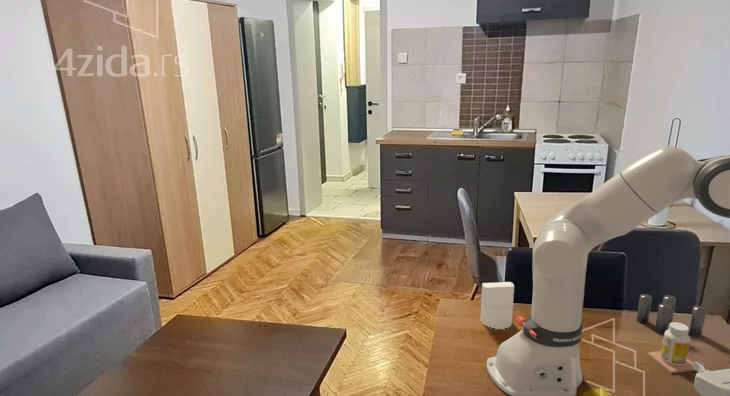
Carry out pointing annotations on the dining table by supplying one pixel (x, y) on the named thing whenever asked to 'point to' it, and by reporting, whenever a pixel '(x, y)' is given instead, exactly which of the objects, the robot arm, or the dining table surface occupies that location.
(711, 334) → the dining table surface
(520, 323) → the robot arm
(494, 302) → the cylinder with rectangular tab
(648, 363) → the dining table surface
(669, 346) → the supplement bottle
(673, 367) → the terracotta tile
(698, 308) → the posts
